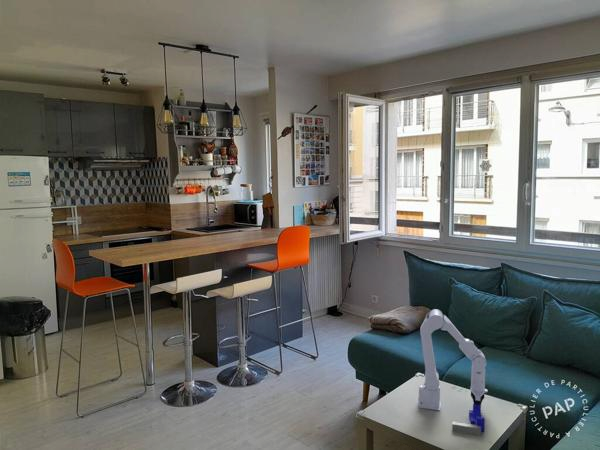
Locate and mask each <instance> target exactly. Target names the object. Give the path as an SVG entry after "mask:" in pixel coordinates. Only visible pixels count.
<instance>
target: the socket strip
mask: <svg viewBox="0 0 600 450" xmlns="http://www.w3.org/2000/svg"><path fill="white" fill-rule="evenodd" d="M451 428H452V429H451V431H452V432H456V433H462V434H467V435H474V436H479V437H481V435H482V432H481V426H477V425H475V424H471V423H463V422H457V421H452V425H451Z"/></svg>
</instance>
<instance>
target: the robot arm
mask: <svg viewBox="0 0 600 450" xmlns="http://www.w3.org/2000/svg"><path fill="white" fill-rule="evenodd" d="M439 329H440V330H441V331H447V332H448V333H449V334H450V335H451V336H452V337H453V338H454V339H455V340H456V342H457V343H458V348H459V349H460V350H461V351H462V353H463V354H464V355H465V356H466V357H467V358H468V359H469V360H470V361H471V369H470V370H471V371H470V372H471V373H470V374H471V375H470V378H471V379H470V387H469V389H470V396H471V399H472V402H473V404H479V405H481V406H482V403H483V401H484V400H485V393H488V389H487V388H485V387H486V367H487V360H486V357H485V354H484V353H483V351H481V349H478V347H476V345H475V343H474V341H473V340H471V339H470V338H465V337H464V336H463V335H462V333H461V332H460V331H459V330H458V329H457V327H456V326H455V325H454V324H453V323H452V321H451V320H450V318H448V317H447V315H445V314H443V312H442V311H441V310H440V309H436V308H434V309H431V310H430V311H429V312H428V313H426V315H425V318H424V320H423V322H422V324H421V326H420V329H419V330H420V331H419V333H420V339H421V346H422V347H421V348H422V354H423V355H422V356H423V361H424V369H425V372H424V383H423V384H419V385H418V396H417V397H418V398H417V401H418V408H421V409H427V410H432V411H433V410H434V411H441V406H442V401H441V386H440V385H441V384H440V379H439V378H440V374H439V371H438V370H437V367H436V360H435V355H434V347H433V339H432V334H433V332H434V331H436V330H439Z"/></svg>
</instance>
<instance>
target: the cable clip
mask: <svg viewBox="0 0 600 450" xmlns="http://www.w3.org/2000/svg"><path fill="white" fill-rule="evenodd" d="M481 408H482V404H481V405H479V404H474V403H473V404H472V410H471V409H469V410H468V417H469V418H468V419H469V424H470V425H477V426H481V434H482V433H483V434H484V433H485V428H486V427H485V424H486V423H485V422H486V418H485V417H484V416H482V410H481Z"/></svg>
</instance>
